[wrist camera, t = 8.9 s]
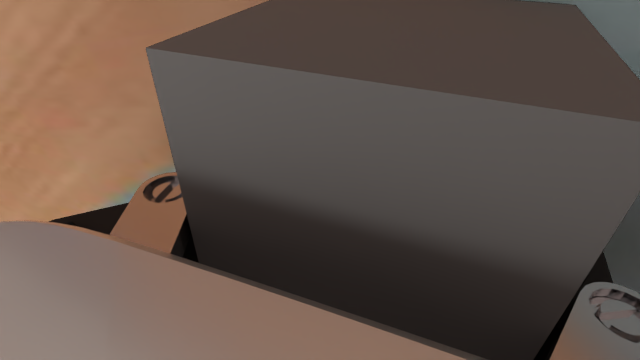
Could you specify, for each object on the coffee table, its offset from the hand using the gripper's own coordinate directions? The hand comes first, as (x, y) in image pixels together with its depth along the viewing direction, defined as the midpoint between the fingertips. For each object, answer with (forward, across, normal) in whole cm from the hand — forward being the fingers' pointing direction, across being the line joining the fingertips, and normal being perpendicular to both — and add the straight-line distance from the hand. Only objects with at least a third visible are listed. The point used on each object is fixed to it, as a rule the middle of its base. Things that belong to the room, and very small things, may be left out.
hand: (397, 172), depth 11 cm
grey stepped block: (+1, 0, +2) cm, 2 cm away
